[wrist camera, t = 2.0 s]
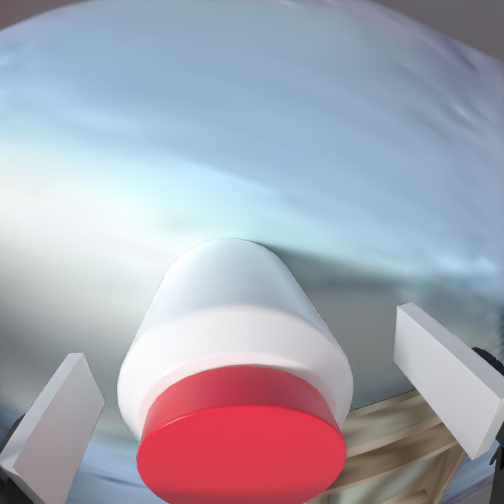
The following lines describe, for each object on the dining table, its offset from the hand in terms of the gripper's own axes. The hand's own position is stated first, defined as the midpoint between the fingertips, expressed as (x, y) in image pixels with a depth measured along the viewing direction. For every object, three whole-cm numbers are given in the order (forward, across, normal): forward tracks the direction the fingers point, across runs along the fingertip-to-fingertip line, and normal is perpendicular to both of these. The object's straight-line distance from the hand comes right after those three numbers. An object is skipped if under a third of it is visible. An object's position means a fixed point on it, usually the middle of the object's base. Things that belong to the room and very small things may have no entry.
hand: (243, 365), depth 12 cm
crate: (+6, +10, -20) cm, 23 cm away
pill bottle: (+6, 0, 0) cm, 6 cm away
